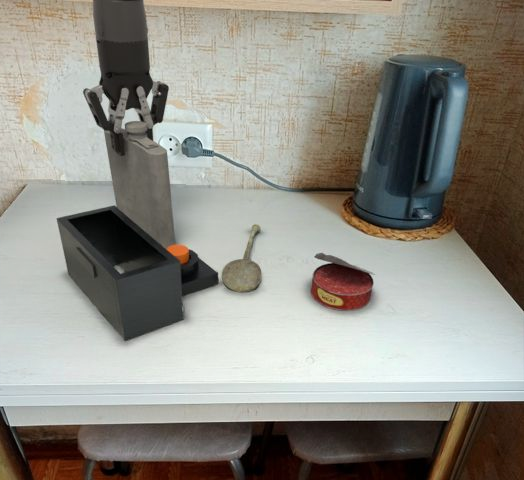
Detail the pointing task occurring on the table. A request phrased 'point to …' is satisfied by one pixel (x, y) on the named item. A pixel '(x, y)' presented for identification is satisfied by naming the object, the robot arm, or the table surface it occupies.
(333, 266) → the canned food
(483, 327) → the table surface
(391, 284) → the table surface
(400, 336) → the table surface
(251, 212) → the table surface
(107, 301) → the black storage bin
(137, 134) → the hip flask
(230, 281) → the soupspoon
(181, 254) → the button
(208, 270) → the control panel
